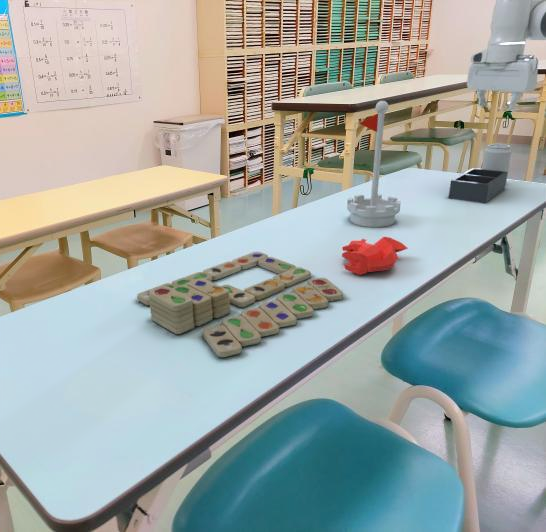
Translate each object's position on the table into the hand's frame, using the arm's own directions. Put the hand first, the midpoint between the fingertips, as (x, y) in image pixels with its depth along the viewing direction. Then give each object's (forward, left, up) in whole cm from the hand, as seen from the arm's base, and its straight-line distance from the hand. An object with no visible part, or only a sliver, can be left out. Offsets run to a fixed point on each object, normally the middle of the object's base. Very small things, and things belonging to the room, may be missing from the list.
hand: (496, 107), depth 147 cm
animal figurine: (+51, +49, -25) cm, 75 cm away
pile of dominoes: (+80, +62, -25) cm, 104 cm away
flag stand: (+41, +21, -25) cm, 52 cm away
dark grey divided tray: (+2, +1, -25) cm, 25 cm away
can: (-9, -10, -25) cm, 28 cm away
